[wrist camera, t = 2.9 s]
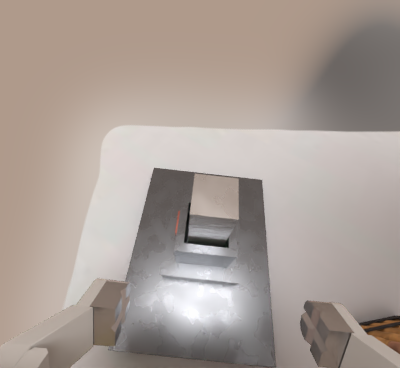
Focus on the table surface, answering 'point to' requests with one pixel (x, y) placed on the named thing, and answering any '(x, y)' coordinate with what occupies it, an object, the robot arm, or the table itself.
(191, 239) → the column
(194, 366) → the table surface
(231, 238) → the metal stepped base
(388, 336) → the ammunition clip
